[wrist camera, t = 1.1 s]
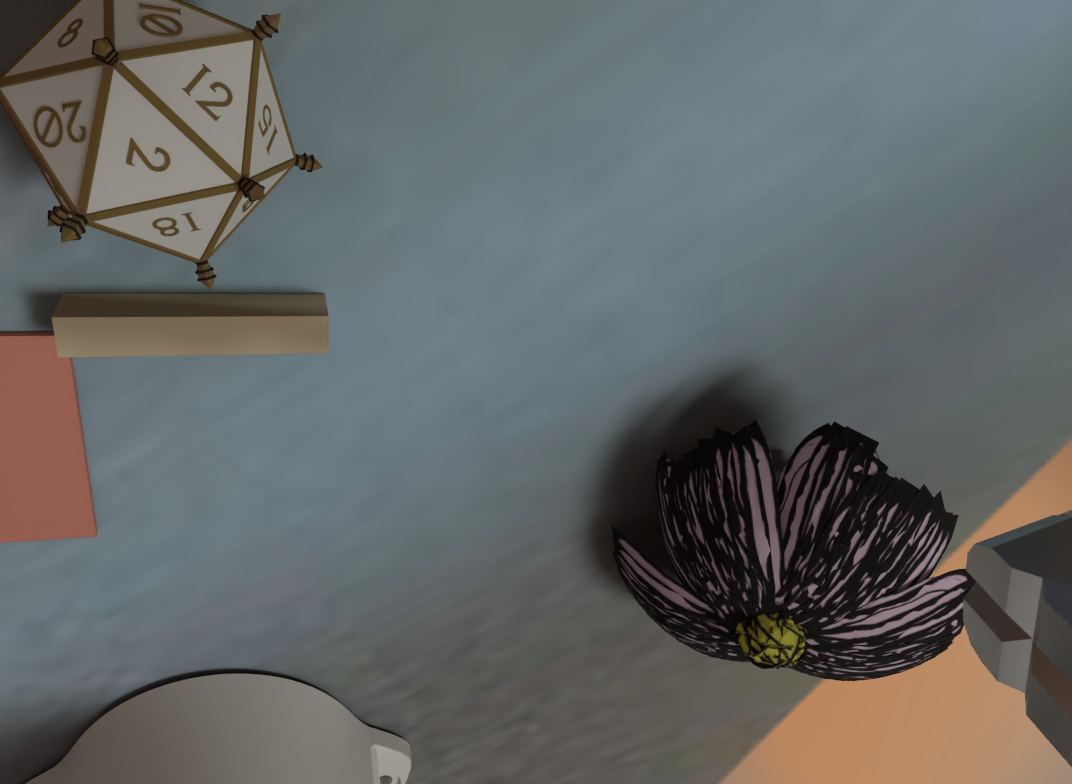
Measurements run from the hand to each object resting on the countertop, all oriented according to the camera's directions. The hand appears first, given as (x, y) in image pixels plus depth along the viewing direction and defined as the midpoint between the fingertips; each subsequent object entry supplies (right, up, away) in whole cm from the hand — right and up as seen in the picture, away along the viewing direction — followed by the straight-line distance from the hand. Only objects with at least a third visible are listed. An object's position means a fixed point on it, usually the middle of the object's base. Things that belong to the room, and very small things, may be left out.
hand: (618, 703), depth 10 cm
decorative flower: (+9, -2, +36) cm, 37 cm away
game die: (-13, +13, +20) cm, 27 cm away
